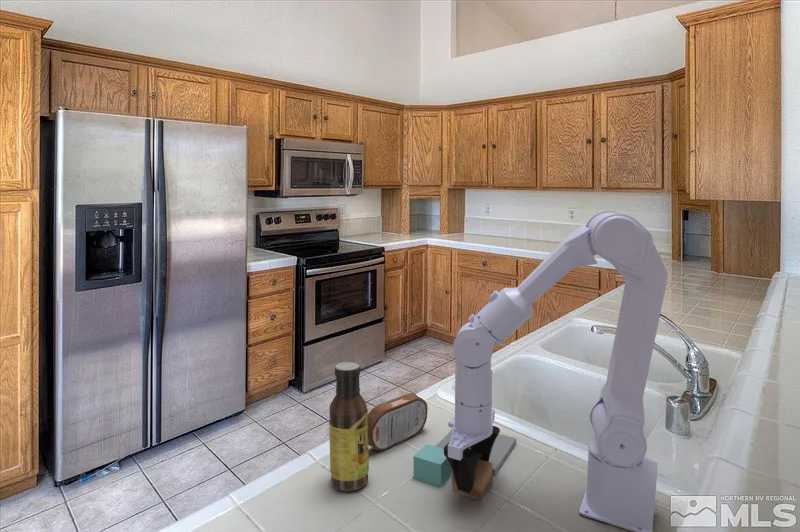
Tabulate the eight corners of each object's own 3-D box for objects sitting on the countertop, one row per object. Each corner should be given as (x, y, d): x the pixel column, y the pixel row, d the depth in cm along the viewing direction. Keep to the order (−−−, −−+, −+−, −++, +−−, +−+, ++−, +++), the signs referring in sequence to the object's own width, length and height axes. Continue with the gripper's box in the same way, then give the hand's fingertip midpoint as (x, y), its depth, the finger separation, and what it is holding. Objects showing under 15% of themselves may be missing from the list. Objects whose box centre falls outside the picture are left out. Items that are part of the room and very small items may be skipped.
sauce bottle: (366, 494, 75) (363, 374, 72) (327, 493, 75) (322, 373, 72) (371, 471, 81) (369, 359, 78) (335, 470, 82) (331, 359, 79)
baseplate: (516, 443, 90) (516, 438, 90) (494, 475, 80) (494, 469, 79) (457, 428, 96) (457, 423, 96) (430, 456, 86) (430, 451, 85)
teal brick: (452, 473, 80) (452, 451, 80) (440, 487, 77) (440, 464, 76) (426, 465, 83) (426, 443, 82) (413, 478, 79) (413, 456, 79)
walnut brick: (491, 485, 77) (492, 463, 76) (481, 501, 73) (482, 477, 73) (463, 476, 79) (463, 454, 79) (452, 491, 76) (452, 468, 75)
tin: (419, 425, 97) (419, 386, 96) (430, 431, 95) (430, 391, 93) (360, 452, 87) (359, 409, 86) (371, 459, 85) (370, 415, 84)
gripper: (467, 378, 82) (466, 451, 84) (429, 411, 70) (429, 496, 72) (507, 386, 79) (505, 462, 81) (474, 423, 66) (473, 511, 68)
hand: (472, 479), depth 76 cm, fingers open, 6 cm apart
